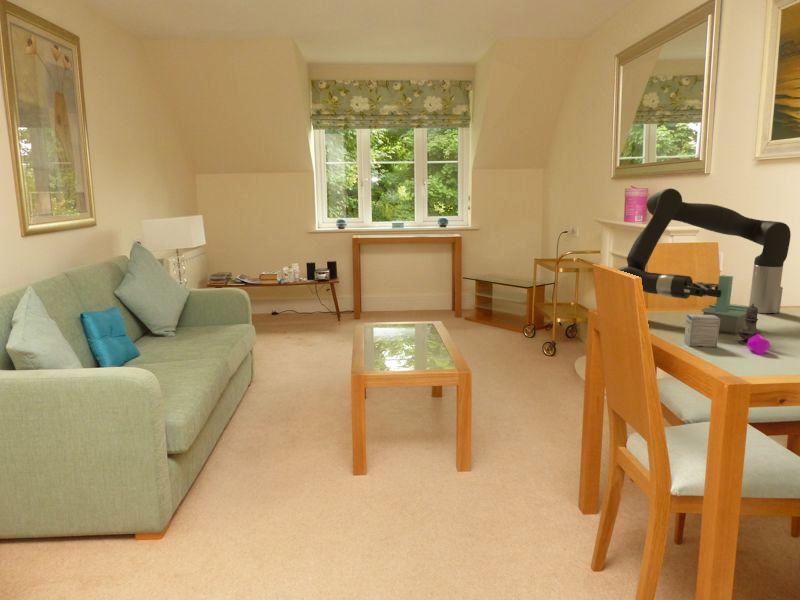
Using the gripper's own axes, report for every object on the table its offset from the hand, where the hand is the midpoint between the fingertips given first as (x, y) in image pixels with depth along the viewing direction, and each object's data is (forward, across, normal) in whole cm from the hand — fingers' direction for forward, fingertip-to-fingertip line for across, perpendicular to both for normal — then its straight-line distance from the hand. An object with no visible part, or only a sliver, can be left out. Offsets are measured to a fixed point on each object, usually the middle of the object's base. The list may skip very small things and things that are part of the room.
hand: (726, 292), depth 194 cm
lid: (-1, +6, +7) cm, 9 cm away
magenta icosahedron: (+16, -18, +13) cm, 27 cm away
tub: (-1, +6, +13) cm, 14 cm away
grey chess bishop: (+10, -9, +13) cm, 19 cm away
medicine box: (+2, -22, +13) cm, 26 cm away
